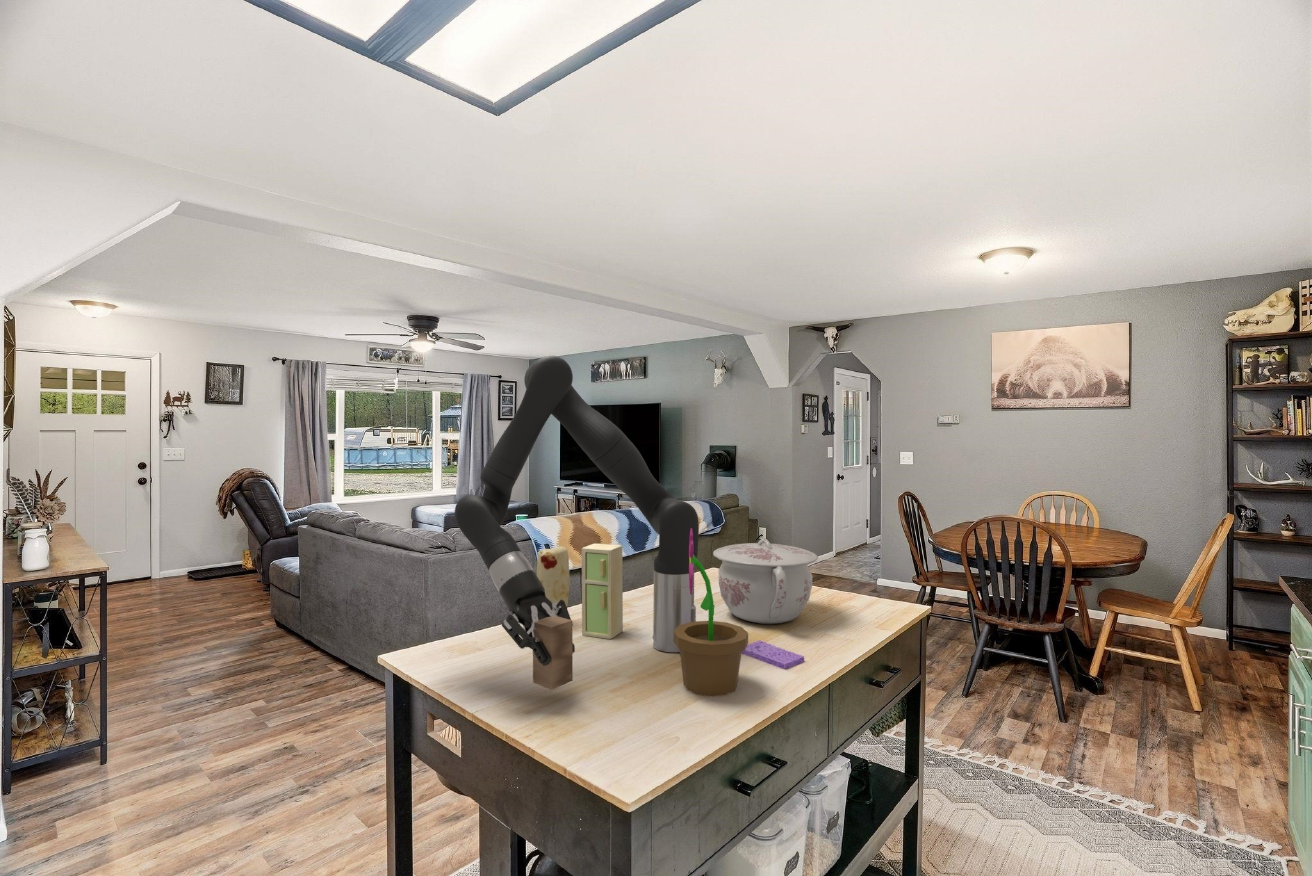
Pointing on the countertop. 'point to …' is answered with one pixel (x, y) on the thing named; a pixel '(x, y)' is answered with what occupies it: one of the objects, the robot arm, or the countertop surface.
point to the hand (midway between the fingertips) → (559, 657)
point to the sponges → (772, 654)
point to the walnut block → (554, 652)
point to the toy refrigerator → (602, 590)
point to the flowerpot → (709, 646)
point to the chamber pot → (765, 580)
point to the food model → (554, 573)
